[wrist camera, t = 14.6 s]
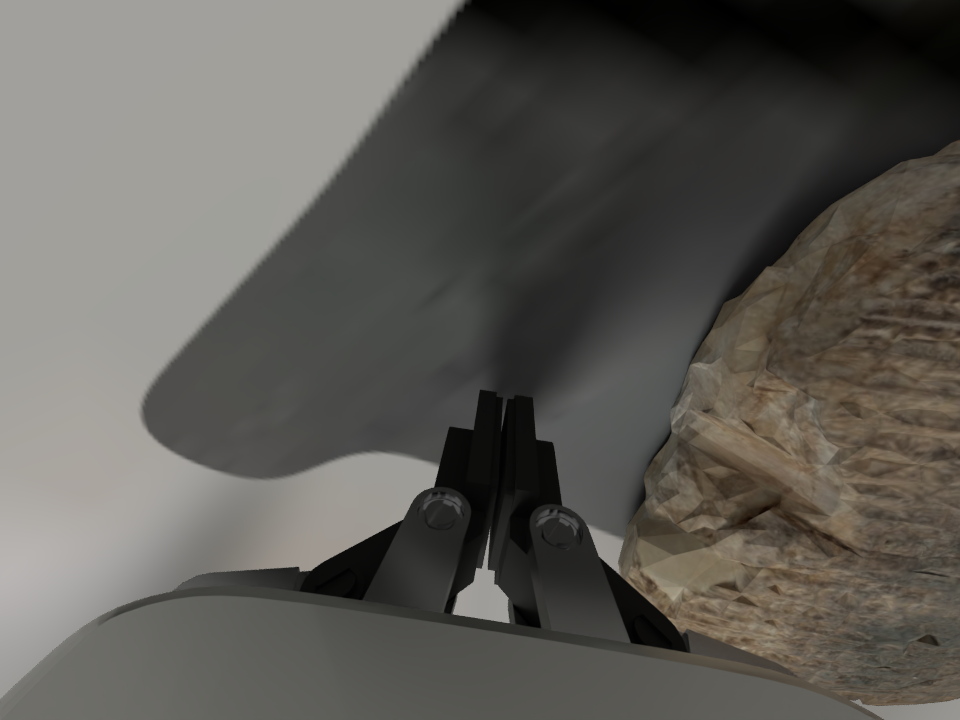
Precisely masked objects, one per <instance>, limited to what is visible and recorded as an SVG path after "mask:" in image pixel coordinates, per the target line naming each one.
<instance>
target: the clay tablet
mask: <svg viewBox="0 0 960 720" xmlns="http://www.w3.org/2000/svg"><path fill="white" fill-rule="evenodd" d="M670 418H671V429H672V433H671V435H670V438H669V440H668V442H667V443H666V444H665V445H664V447H663V448H662V449H661V450H660V452H659V453H658V454H657V455H656V457H655V458H654V459H653V461H652V463H651V464H650V466H649V468H648V469H647V471H646V473H645V475H644V482H645V489H646V499H645V501H644V502H643V504H642V505H641V506H640V508H639V509H638V511H637V512H636V514H635V515H634V516H633V518H632V519H631V521H630V522H629V523H628V527H627V531H626V535H625V538H624V542H623V546H622V550H621V554H620V557H619V561H618V564H619V571H620V576H621V577H622V578H623V579H625V580H626V581H627V582H628V583H629V584H630V585H631V586H632V587H634V588H635V589H636V590H637V591H638V592H639V593H640V594H641V595H642V596H644V597H645V598H646V599H647V600H648V601H649V602H650V603H651V604H653V605H654V606H655V607H656V608H657V609H658V610H659V611H660V612H662V613H663V614H664V615H665V616H666V617H667V618H668V619H669V620H670V621H671V622H672V623H673V625H674V626H675V627H676V628H677V630H679V631H681V632H685V631H686V629H687V628H688V629H690V630H693V631H695V632H698V633H701V634H703V635H706V636H708V637H711V638H713V639H716V640H719V641H721V642H724V643H726V644H729V645H732V646H734V647H737V648H739V649H742V650H745V651H747V652H750V653H752V654H755V655H758V656H760V657H763V658H765V659H768V660H770V661H773V662H776V663H778V664H780V665H782V666H783V667H785V668H787V669H789V670H791V671H792V672H793V673H794V674H795V675H797V676H798V677H799V678H800V679H802V680H804V681H807V682H809V683H812V684H814V685H817V686H819V687H822V688H824V689H826V690H829V691H831V692H834V693H836V694H838V695H840V696H842V697H844V698H846V699H848V700H858V699H860V700H861V702H862V703H863V704H867V705H876V706H884V705H909V704H925V703H934V702H943V701H950V700H954V699H958V698H960V140H958V141H955V142H952V143H951V144H949V145H948V146H946V147H945V148H943V149H942V150H940V151H939V152H937V153H936V154H935V155H933V156H928V157H923V158H918V159H911V160H908V161H904V162H900V163H899V164H897V165H896V166H894V167H893V168H891V169H890V170H888V171H886V172H885V173H883V174H882V175H880V176H878V177H877V178H875V179H873V180H872V181H870V182H868V183H867V184H865V185H863V186H861V187H860V188H858V189H856V190H855V191H853V192H851V193H850V194H848V195H846V196H845V197H843V198H841V199H840V200H838V201H836V202H835V203H833V204H831V205H830V206H829V207H828V208H827V209H826V210H825V211H823V212H822V213H821V214H820V215H819V216H818V217H817V218H815V219H814V220H813V221H812V222H811V223H810V224H809V225H808V226H807V227H806V228H805V229H804V230H803V231H802V232H801V233H800V234H799V235H798V236H797V238H796V239H795V240H794V242H793V243H792V245H791V246H790V247H789V249H788V250H787V252H786V253H785V254H784V255H783V256H782V257H781V258H780V259H779V260H778V261H777V262H775V263H774V264H773V265H772V266H771V267H769V266H767V267H766V268H765V269H764V270H763V272H762V273H761V274H760V275H759V276H758V277H757V278H756V279H755V280H754V281H753V283H752V284H751V285H750V286H749V287H748V288H747V289H746V290H745V291H744V292H743V294H742V295H740V296H738V297H736V298H733V299H731V300H729V301H727V302H725V303H724V304H723V306H722V308H721V311H720V313H719V315H718V317H717V319H716V321H715V323H714V325H713V328H712V330H711V332H710V333H709V334H708V336H707V337H706V339H705V340H704V341H703V343H702V344H701V346H700V348H699V350H698V351H697V353H696V355H695V357H694V359H693V360H692V362H691V364H690V366H689V369H688V372H687V375H686V378H685V381H684V383H683V386H682V391H681V393H680V395H679V397H678V399H677V400H676V402H675V404H674V405H673V407H672V409H671V413H670Z"/></svg>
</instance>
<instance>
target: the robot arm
mask: <svg viewBox="0 0 960 720" xmlns="http://www.w3.org/2000/svg"><path fill="white" fill-rule="evenodd" d="M496 396H497V392H492V391H486V390H480V393H479V399H478V406H477V412H476V419H475V425H474V430H469V429H462V428H456V427H449V430H448V434H447V438H446V442H445V446H444V450H443V454H442V458H441V462H440V466H439V470H438V474H437V478H436V482H435V486H434V488H430V489H428V490H424V491H423V492H421V493H420V494H419V495H417V497H416V498H415V499H414V500H413V502H412V504H411V506H410V508H409V510H408V512H407V514H406V516H405V518H404V519H403V520H402V521H400V522H398V523H396V524H394V525H392V526H390V527H388V528H386V529H385V530H383V531H381V532H379V533H377V534H375V535H373V536H372V537H369V538H368V539H366V540H364V541H362V542H360V543H358V544H356V545H355V546H353V547H351V548H349V549H347V550H345V551H343V552H341V553H339V554H338V555H336V556H334V557H332V558H330V559H328V560H326V561H324V562H323V563H321V564H320V565H318V566H317V567H315V568H314V569H313V570H312V571H302V572H300V569H299V567H289V568H274V569H259V570H244V571H230V572H214V573H206V574H202V575H198V576H195V577H193V578H191V579H189V580H187V581H185V582H183V583H182V584H180V585H179V586H178V587H177V588H176V589H174V590H173V591H172V592H167V593H163V594H158V595H154V596H150V597H147V598H143V599H140V600H136V601H133V602H131V603H128V604H125V605H123V606H120V607H117V608H115V609H113V610H111V611H109V612H107V613H105V614H103V615H101V616H99V617H97V618H96V619H94V620H93V621H91V622H90V623H88V624H86V625H85V626H83V627H82V628H81V629H79V630H78V631H77V632H75V633H74V634H73V635H71V636H70V637H69V638H67V639H66V640H65V641H63V642H62V643H61V644H60V645H59V646H58V647H56V648H55V649H54V650H53V651H52V652H51V653H49V654H48V655H47V656H46V657H45V658H44V659H43V660H42V661H41V662H39V664H37V665H36V666H35V667H34V668H33V669H32V670H31V671H30V672H29V673H27V674H26V675H25V676H24V677H23V678H22V679H21V680H20V681H19V682H18V683H17V684H15V686H13V688H11V689H10V690H9V691H8V692H7V693H6V694H5V695H4V696H3V697H2V698H1V699H0V720H883V719H882V718H880V717H879V716H877V715H875V714H874V713H872V712H870V711H868V710H867V709H865V708H862V707H861V706H859V705H857V704H855V703H853V702H851V701H850V700H848V699H846V698H844V697H842V696H840V695H838V694H836V693H834V692H831V691H829V690H826V689H824V688H822V687H819V686H817V685H814V684H812V683H809V682H807V681H804V680H802V679H800V678H799V677H798V676H797V675H795V674H794V673H793V672H792V671H791V670H789V669H787V668H785V667H783V666H782V665H780V664H778V663H776V662H773V661H770V660H768V659H765V658H763V657H760V656H758V655H755V654H752V653H750V652H747V651H745V650H742V649H739V648H737V647H734V646H732V645H729V644H726V643H724V642H721V641H719V640H716V639H713V638H711V637H708V636H706V635H703V634H701V633H698V632H695V631H693V630H690V629H688V628H687V629H686V631H685V632H681V631H679V630H677V628H676V627H675V626H674V625H673V623H672V622H671V621H670V620H669V619H668V618H667V617H666V616H665V615H664V614H663V613H662V612H660V611H659V610H658V609H657V608H656V607H655V606H654V605H653V604H651V603H650V602H649V601H648V600H647V599H646V598H645V597H644V596H642V595H641V594H640V593H639V592H638V591H637V590H636V589H635V588H634V587H632V586H631V585H630V584H629V583H628V582H627V581H626V580H625V579H623V578H622V577H621V576H620V575H619V574H618V573H616V571H614V570H613V569H612V568H611V567H610V566H609V565H607V563H605V562H604V561H603V560H602V559H601V558H600V557H599V556H598V553H597V551H596V548H595V545H594V542H593V540H592V537H591V534H590V532H589V529H588V527H587V525H586V523H585V522H584V520H583V519H582V518H581V517H580V516H579V515H578V514H577V513H575V512H574V511H572V510H571V509H569V508H566V507H564V506H562V501H561V494H560V487H559V480H558V473H557V465H556V458H555V451H554V445H553V443H552V442H547V441H541V440H536V434H535V421H534V408H533V398H532V397H525V396H519V395H515V397H514V399H508V400H507V405H506V410H505V416H504V421H503V426H502V431H501V424H502V405H503V398H501V397H496ZM489 530H490V543H489V557H488V570H494V571H495V581H494V582H495V583H494V584H496V585H498V586H499V587H500V588H501V590H502V591H503V592H504V593H505V594H506V595H507V597H508V598H509V599H508V613H509V622H510V623H503V622H497V621H491V620H484V619H478V618H471V617H465V616H459V615H453V611H454V608H455V604H456V601H457V595H458V593H459V592H460V591H462V590H463V589H464V588H466V587H467V586H468V585H470V584H471V583H472V582H473V581H474V576H475V571H476V568H482V565H483V560H484V555H485V550H486V545H487V540H488V535H489Z"/></svg>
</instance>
